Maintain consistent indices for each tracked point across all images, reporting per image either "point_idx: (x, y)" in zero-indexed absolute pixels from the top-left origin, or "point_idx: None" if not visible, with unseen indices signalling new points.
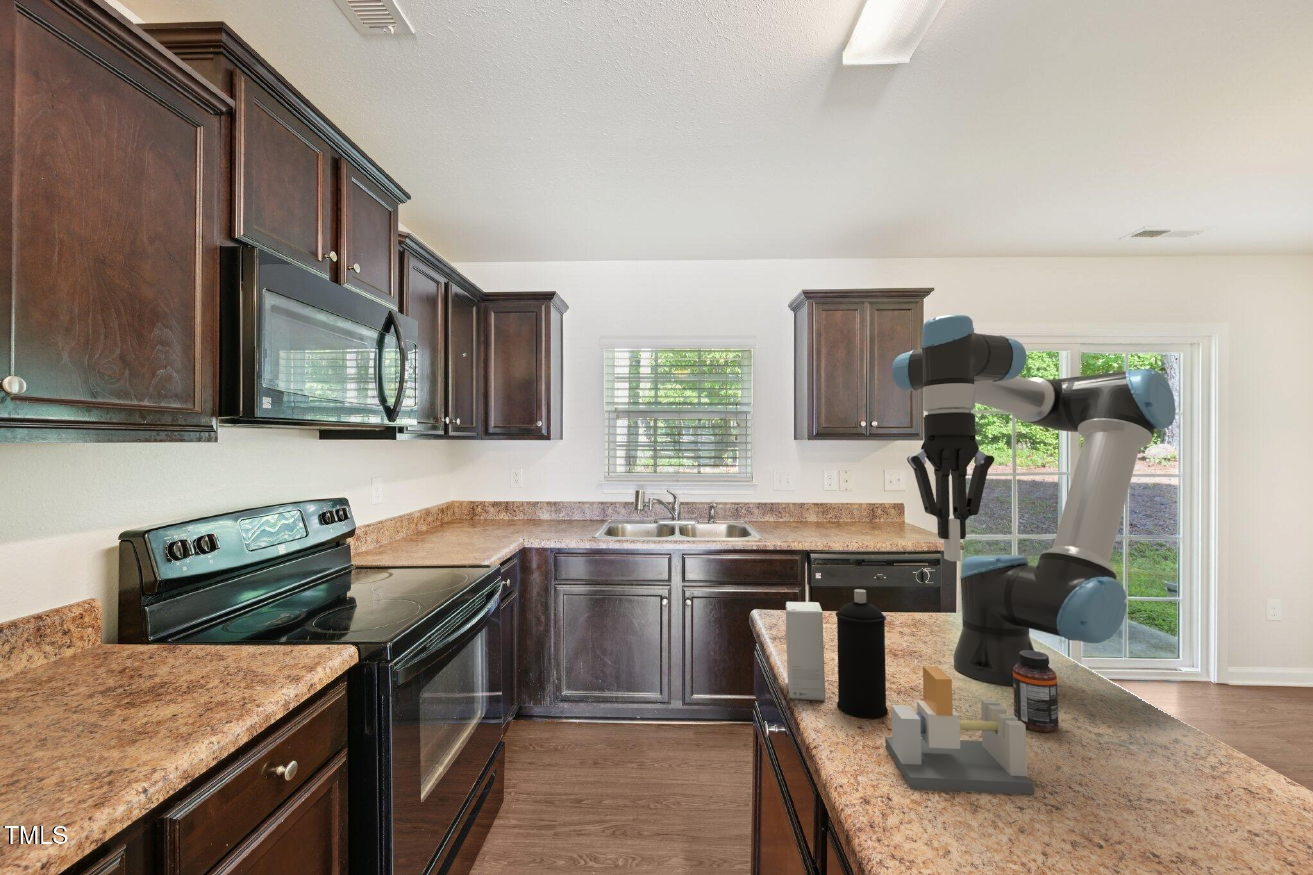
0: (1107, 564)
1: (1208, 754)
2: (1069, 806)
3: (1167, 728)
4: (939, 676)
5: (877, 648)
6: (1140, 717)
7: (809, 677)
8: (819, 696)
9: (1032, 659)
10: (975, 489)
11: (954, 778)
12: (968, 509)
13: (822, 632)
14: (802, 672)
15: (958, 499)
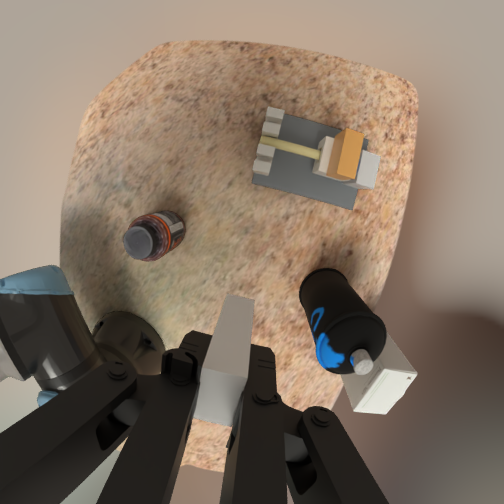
0: None
1: (80, 165)
2: (252, 96)
3: (71, 210)
4: (355, 140)
5: (338, 298)
6: (75, 232)
7: None
8: None
9: (148, 230)
10: (53, 449)
11: (333, 129)
12: (136, 396)
13: None
14: None
15: (177, 447)
